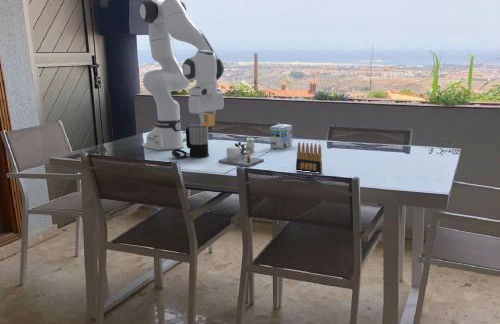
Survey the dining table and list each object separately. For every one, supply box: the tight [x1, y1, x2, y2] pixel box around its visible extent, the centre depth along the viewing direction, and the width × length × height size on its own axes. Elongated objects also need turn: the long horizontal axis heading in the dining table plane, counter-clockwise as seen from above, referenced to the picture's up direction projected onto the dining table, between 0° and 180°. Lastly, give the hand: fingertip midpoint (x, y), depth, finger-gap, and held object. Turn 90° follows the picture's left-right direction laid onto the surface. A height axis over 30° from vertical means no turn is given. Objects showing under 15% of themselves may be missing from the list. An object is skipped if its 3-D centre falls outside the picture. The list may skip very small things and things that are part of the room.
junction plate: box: [218, 145, 265, 168], centre depth 207 cm, size 16×12×6 cm
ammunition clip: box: [295, 141, 323, 174], centre depth 189 cm, size 11×2×12 cm, turn 61°
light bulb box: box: [269, 123, 293, 150], centre depth 238 cm, size 11×7×11 cm, turn 143°
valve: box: [234, 137, 255, 156], centre depth 224 cm, size 7×7×12 cm
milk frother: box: [171, 122, 210, 159], centre depth 217 cm, size 14×16×15 cm
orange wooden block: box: [199, 112, 216, 128], centre depth 202 cm, size 4×4×5 cm
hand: (207, 121), depth 202 cm, fingers closed on orange wooden block, 4 cm apart
